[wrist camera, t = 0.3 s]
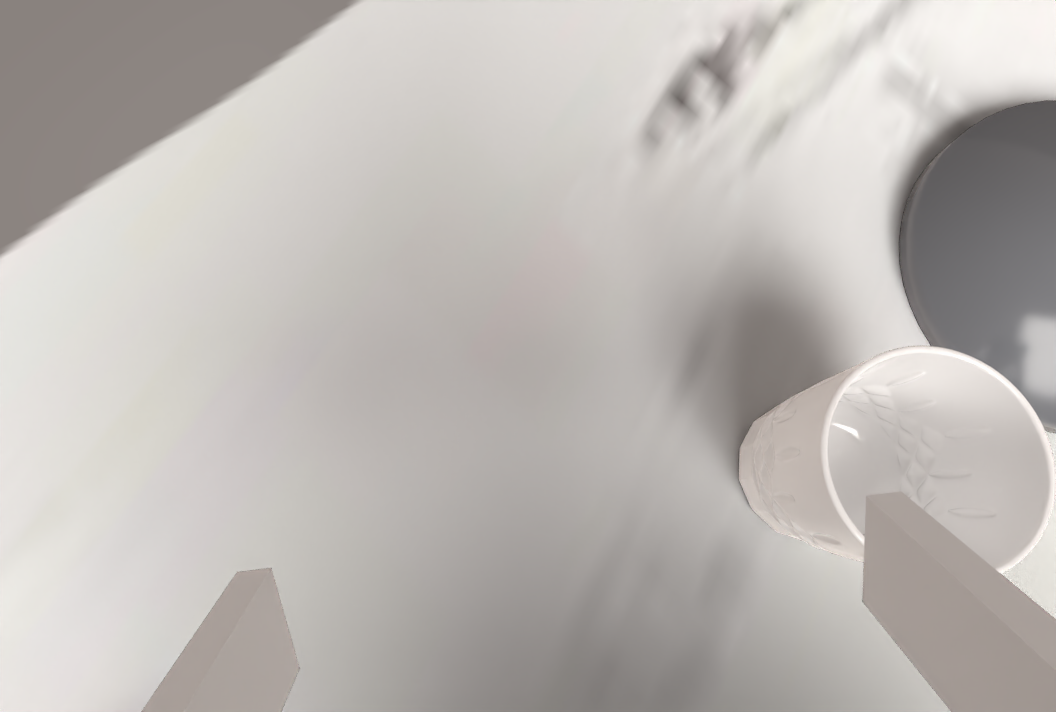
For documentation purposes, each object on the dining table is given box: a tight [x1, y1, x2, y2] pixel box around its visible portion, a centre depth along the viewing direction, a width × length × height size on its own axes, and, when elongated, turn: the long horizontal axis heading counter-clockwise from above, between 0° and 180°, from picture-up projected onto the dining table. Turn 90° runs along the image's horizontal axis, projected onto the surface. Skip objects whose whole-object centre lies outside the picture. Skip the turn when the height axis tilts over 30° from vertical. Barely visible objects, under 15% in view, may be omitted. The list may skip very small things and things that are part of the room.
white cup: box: [739, 346, 1056, 574], centre depth 26 cm, size 8×8×10 cm
